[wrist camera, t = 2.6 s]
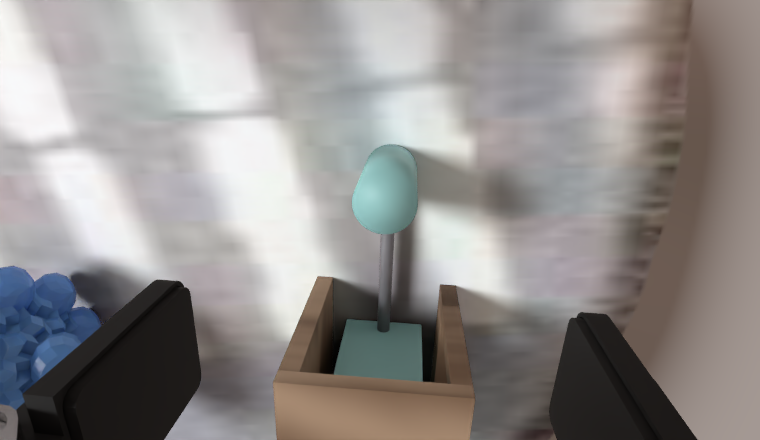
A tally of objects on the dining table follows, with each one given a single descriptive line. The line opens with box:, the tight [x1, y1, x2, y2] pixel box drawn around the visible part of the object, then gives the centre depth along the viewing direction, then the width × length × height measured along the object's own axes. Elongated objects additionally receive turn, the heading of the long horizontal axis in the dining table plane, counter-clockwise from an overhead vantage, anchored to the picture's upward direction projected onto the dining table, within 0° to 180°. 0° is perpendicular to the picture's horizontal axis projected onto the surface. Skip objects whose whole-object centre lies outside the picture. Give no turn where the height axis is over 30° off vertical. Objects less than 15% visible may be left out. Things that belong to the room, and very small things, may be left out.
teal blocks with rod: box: [333, 145, 423, 382], centre depth 25 cm, size 17×5×6 cm, turn 178°
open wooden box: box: [273, 277, 475, 440], centre depth 26 cm, size 10×9×10 cm
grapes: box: [0, 266, 101, 410], centre depth 25 cm, size 12×7×12 cm, turn 18°
